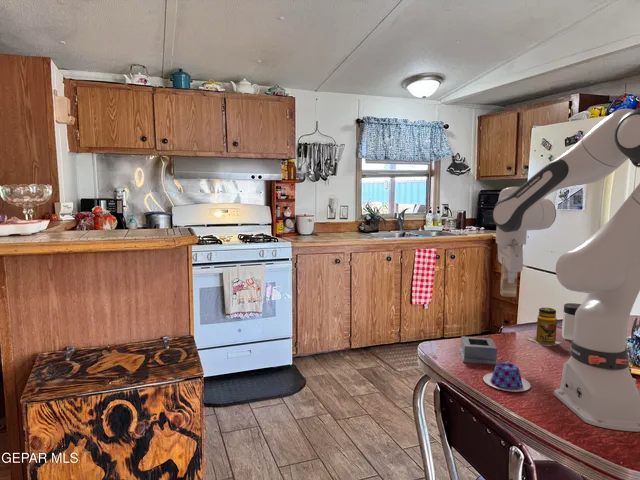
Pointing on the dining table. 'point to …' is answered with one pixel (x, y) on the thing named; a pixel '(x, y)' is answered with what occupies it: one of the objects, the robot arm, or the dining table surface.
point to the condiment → (546, 327)
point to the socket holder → (478, 350)
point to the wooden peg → (506, 287)
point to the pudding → (507, 378)
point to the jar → (569, 320)
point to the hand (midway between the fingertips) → (508, 281)
